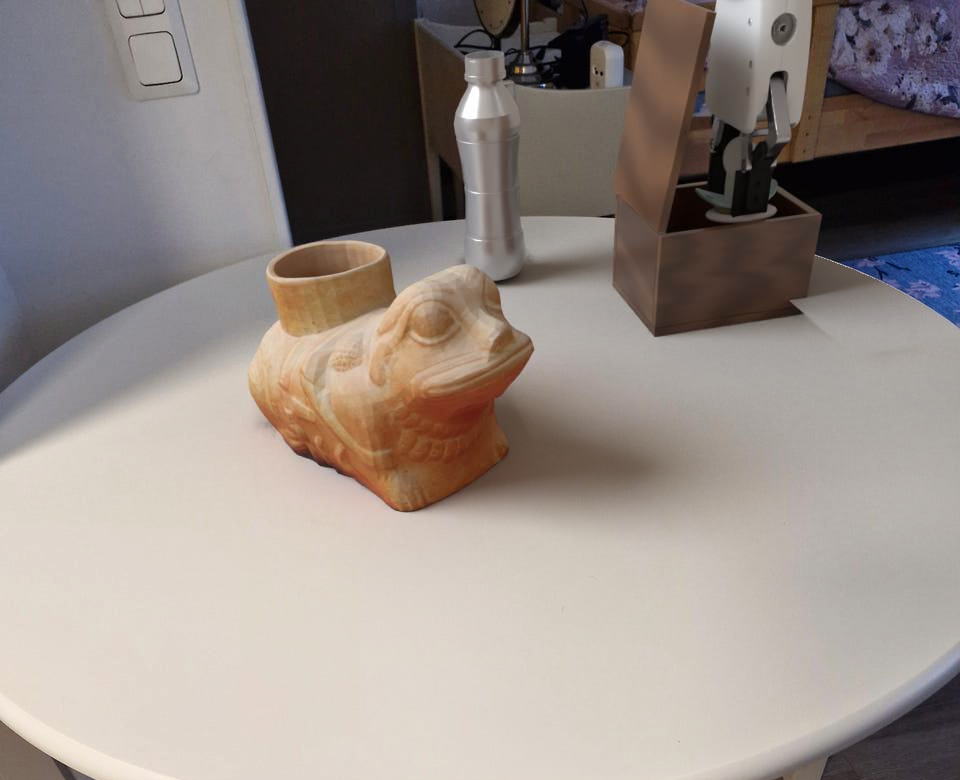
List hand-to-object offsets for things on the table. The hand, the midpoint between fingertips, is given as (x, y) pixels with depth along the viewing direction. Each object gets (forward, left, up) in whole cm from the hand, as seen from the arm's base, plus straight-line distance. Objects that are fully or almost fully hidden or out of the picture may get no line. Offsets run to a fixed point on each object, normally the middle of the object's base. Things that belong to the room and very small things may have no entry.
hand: (735, 205), depth 82 cm
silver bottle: (+20, -13, -9) cm, 25 cm away
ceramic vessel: (+35, +18, -9) cm, 40 cm away
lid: (+8, 0, +8) cm, 11 cm away
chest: (+2, 0, -8) cm, 9 cm away
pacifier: (0, +1, -1) cm, 1 cm away
